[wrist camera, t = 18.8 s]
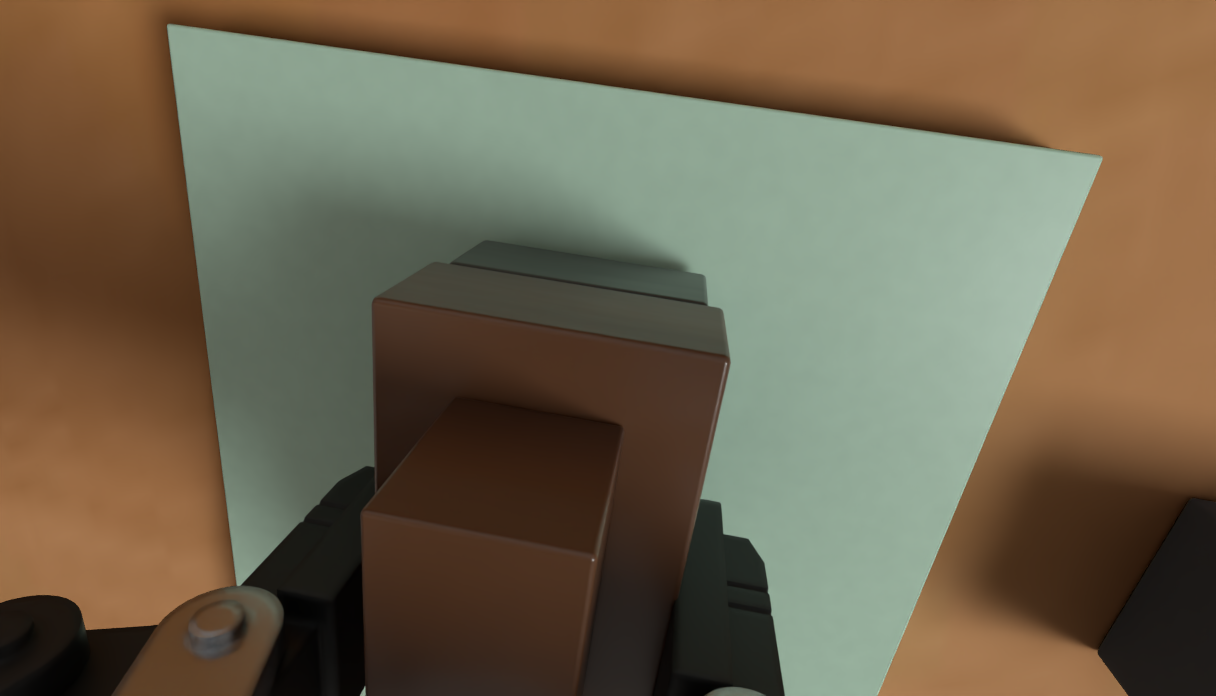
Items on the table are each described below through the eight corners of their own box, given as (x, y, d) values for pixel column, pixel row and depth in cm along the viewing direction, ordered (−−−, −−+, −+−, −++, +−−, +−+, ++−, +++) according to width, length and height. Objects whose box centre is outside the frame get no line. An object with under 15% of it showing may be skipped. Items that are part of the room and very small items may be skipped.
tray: (277, 633, 16) (246, 673, 15) (219, 31, 11) (164, 22, 10) (824, 749, 15) (834, 800, 14) (1058, 150, 10) (1106, 155, 9)
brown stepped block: (471, 236, 10) (228, 380, 5) (719, 275, 10) (751, 474, 4) (452, 647, 13) (300, 992, 8) (635, 685, 13) (598, 1068, 8)
